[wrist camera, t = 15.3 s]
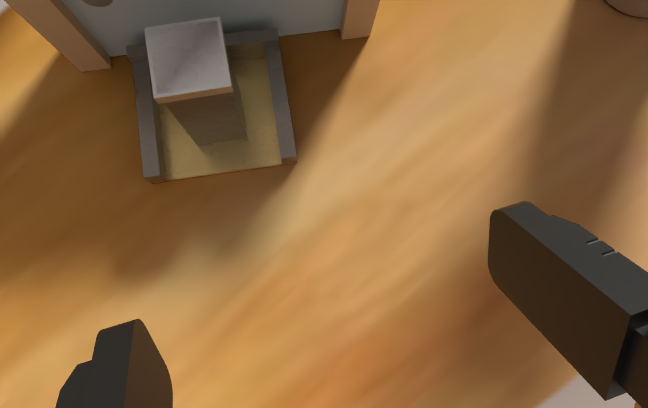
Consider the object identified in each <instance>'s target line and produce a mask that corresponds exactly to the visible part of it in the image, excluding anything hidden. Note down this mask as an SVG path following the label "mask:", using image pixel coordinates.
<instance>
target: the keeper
mask: <svg viewBox="0 0 648 408" xmlns="http://www.w3.org/2000/svg"><path fill="white" fill-rule="evenodd" d="M224 38H225V44H226V49H227V52H228V55H229V58H230V61H231V64H232V67H233V70H234V73H235V77H236V80H237V83H238V86H239V89H240V92H241V98H242V104H243V110H244V115H245V121H246V127H247V133H248V138H244V139H238V140H232V141H226V142H220V143H214V144H208V145H202V146H197V144H196V143H195V142H194V141H193V139H192V138H191V137H190V136H189V134H188V133H187V132H186V131H185V129H184V128H183V127H182V126H181V124H180V123H179V122H178V120H177V119H176V118H175V117H174V115H173V114H172V113H171V112H170V110H169V109H168V108H167V107H166V105H165V104H164V103H161V104H158V103H157V102H156V100H155V99H154V96H153V89H152V82H151V75H150V67H149V60H148V53H147V46H146V43H144V44H135V45H127V46H126V52H127V59H128V60H129V61H130V62H131V64H132V68H133V78H134V88H135V99H136V109H137V119H138V129H139V139H140V149H141V160H142V170H143V178H145V179H146V180H148V181H149V182H151V183H159V182H166V181H173V180H180V179H187V178H194V177H201V176H208V175H215V174H222V173H229V172H236V171H243V170H250V169H257V168H264V167H271V166H278V165H285V164H292V163H297V154H296V148H295V141H294V135H293V128H292V122H291V115H290V109H289V102H288V96H287V89H286V83H285V77H284V70H283V64H282V57H281V51H280V43H279V35H278V29H277V28H269V29H261V30H252V31H244V32H236V33H227V34H224Z"/></svg>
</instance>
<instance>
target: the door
mask: <svg viewBox="0 0 648 408" xmlns="http://www.w3.org/2000/svg"><path fill="white" fill-rule="evenodd" d="M4 1H6V2H7V3H8V4H9V5H10V6H11V7H12V8H13V9H14V10H15V11H16V12H17V13H18V14H19V15H21V16H22V17H23V18H24V19H25V20H26V21H27V22H28V23H29V24H30V25H31V26H32V27H33V28H35V29H36V30H37V31H38V32H39V33H40V34H41V35H42V36H43V37H44V38H45V39H46V40H47V41H48V42H50V43H51V44H52V45H53V46H54V47H55V48H56V49H57V50H58V51H59V52H60V53H61V54H62V55H63V56H65V57H66V58H67V59H68V60H69V61H70V62H71V63H72V64H73V65H74V66H75V67H76V68H77V69H79V70H80V71H81V72H85V71H93V70H101V69H109V68H111V57H113V56H121V55H127V52H126V46H127V45H135V44H144V43H146V39H145V32H144V27H151V26H158V25H165V24H172V23H179V22H185V21H192V20H199V19H206V18H213V17H219V16H220V19H221V22H222V27H223V32H224V34H227V33H236V32H244V31H252V30H261V29H269V28H277V29H278V35H279V36H286V35H294V34H303V33H311V32H319V31H327V30H335V29H340V33H341V38H342V40H344V39H353V38H361V37H369V36H370V33H371V30H372V26H373V23H374V19H375V16H376V12H377V8H378V5H379V1H380V0H4Z"/></svg>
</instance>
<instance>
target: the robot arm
mask: <svg viewBox="0 0 648 408" xmlns="http://www.w3.org/2000/svg"><path fill="white" fill-rule="evenodd" d="M606 1H607V2H608V3H609V4H610V5H612V6H613V7H614V8H616V9H617V10H619V11H621V12H623V13H626V14H628V15H632V16H636V17H644V18H648V0H606ZM488 267H489V271H490V274H491V276H492V278H493V280H494V282H495V284H496V285H497V286H498V287H499V289H500V290H501V291H502V292H503V293H504V294H505V295H506V296H507V297H508V298H509V299H510V300H511V301H512V302H513V303H514V305H515V306H516V307H517V308H518V309H519V310H520V311H521V312H522V313H523V314H524V315H525V316H526V317H527V318H528V319H529V320H530V322H531V323H532V324H533V325H534V326H535V327H536V328H537V329H538V330H539V331H540V332H541V333H542V334H543V335H544V336H545V337H546V338H547V340H548V341H549V342H550V343H551V344H552V345H553V346H554V347H555V348H556V349H557V350H558V351H559V352H560V353H561V354H562V355H563V357H564V358H565V359H566V360H567V361H568V362H569V363H570V364H571V365H572V366H573V367H574V368H575V369H576V370H577V371H578V372H579V373H580V375H581V376H582V377H583V378H584V379H585V380H586V381H587V382H588V383H589V384H590V385H591V386H592V387H593V388H594V389H595V390H596V391H597V393H598V394H599V395H600V396H601V397H602V398H603V399H604V400H605V401H606V400H609V399H611V398H614V397H616V396H619V395H621V394H624V393H626V392H627V393H628V394H629V395H630V396H631V397H632V398H633V399H634V400H635V401H636V403H635V406H634V408H648V272H646V271H645V270H643V269H642V268H641V267H639V266H638V265H636V264H635V263H633V262H632V261H630V260H629V259H628V258H626V257H625V256H623V255H622V254H620V253H619V252H618V253H615V251H614V249H613V248H612V247H610V246H609V245H607V244H606V243H604V242H603V241H599V240H598V238H597V237H596V236H594V235H593V234H591V233H590V232H588V231H587V230H585V229H584V228H583V227H581V226H580V225H578V224H576V223H573V222H570V221H568V220H565V219H562V218H559V217H557V216H554V215H553V216H550V217H549V216H548V215H547V214H545V213H544V212H542V211H541V210H540V209H538V208H537V207H535V206H534V205H533V204H531V203H529V202H526V201H524V202H520V203H517V204H513V205H510V206H507V207H504V208H500V209H497V210H494V211H493V212H492V214H491V216H490V229H489V248H488ZM172 407H173V392H172V384H171V379H170V375H169V372H168V369H167V366H166V364H165V362H164V360H163V359H162V357H161V355H160V353H159V351H158V349H157V347H156V345H155V344H154V342H153V340H152V338H151V336H150V334H149V332H148V330H147V328H146V327H145V325H144V323H143V322H142V321H141V320H140V319H135V320H132V321H129V322H126V323H122V324H119V325H116V326H113V327H109V328H106V329H103V330H100V331H99V333H98V335H97V338H96V343H95V347H94V352H93V357H92V360H90V361H87V362H84V363H81V364H78V365H77V366H76V367H75V369H74V370H73V372H72V373H71V375H70V376H69V378H68V379H67V381H66V382H65V384H64V385H63V387H62V388H61V390H60V393H59V397H58V400H57V404H56V408H172Z"/></svg>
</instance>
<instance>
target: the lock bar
mask: <svg viewBox="0 0 648 408" xmlns="http://www.w3.org/2000/svg"><path fill="white" fill-rule="evenodd" d="M144 32H145V39H146V46H147V53H148V60H149V67H150V75H151V82H152V89H153V96H154V99H155V100H156V102H157V103H158V104H161V103H164V104H165V105H166V107H167V108H168V109H169V110H170V112H171V113H172V114H173V115H174V117H175V118H176V119H177V120H178V122H179V123H180V124H181V126H182V127H183V128H184V129H185V131H186V132H187V133H188V134H189V136H190V137H191V138H192V139H193V141H194V142H195V143H196V144H197V146H202V145H208V144H214V143H220V142H226V141H232V140H238V139H244V138H248V133H247V127H246V121H245V115H244V110H243V104H242V98H241V92H240V89H239V86H238V83H237V80H236V77H235V73H234V70H233V67H232V64H231V61H230V58H229V55H228V52H227V49H226V44H225V38H224V32H223V27H222V22H221V19H220V16H219V17H213V18H206V19H199V20H192V21H185V22H179V23H172V24H165V25H158V26H151V27H144Z"/></svg>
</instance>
